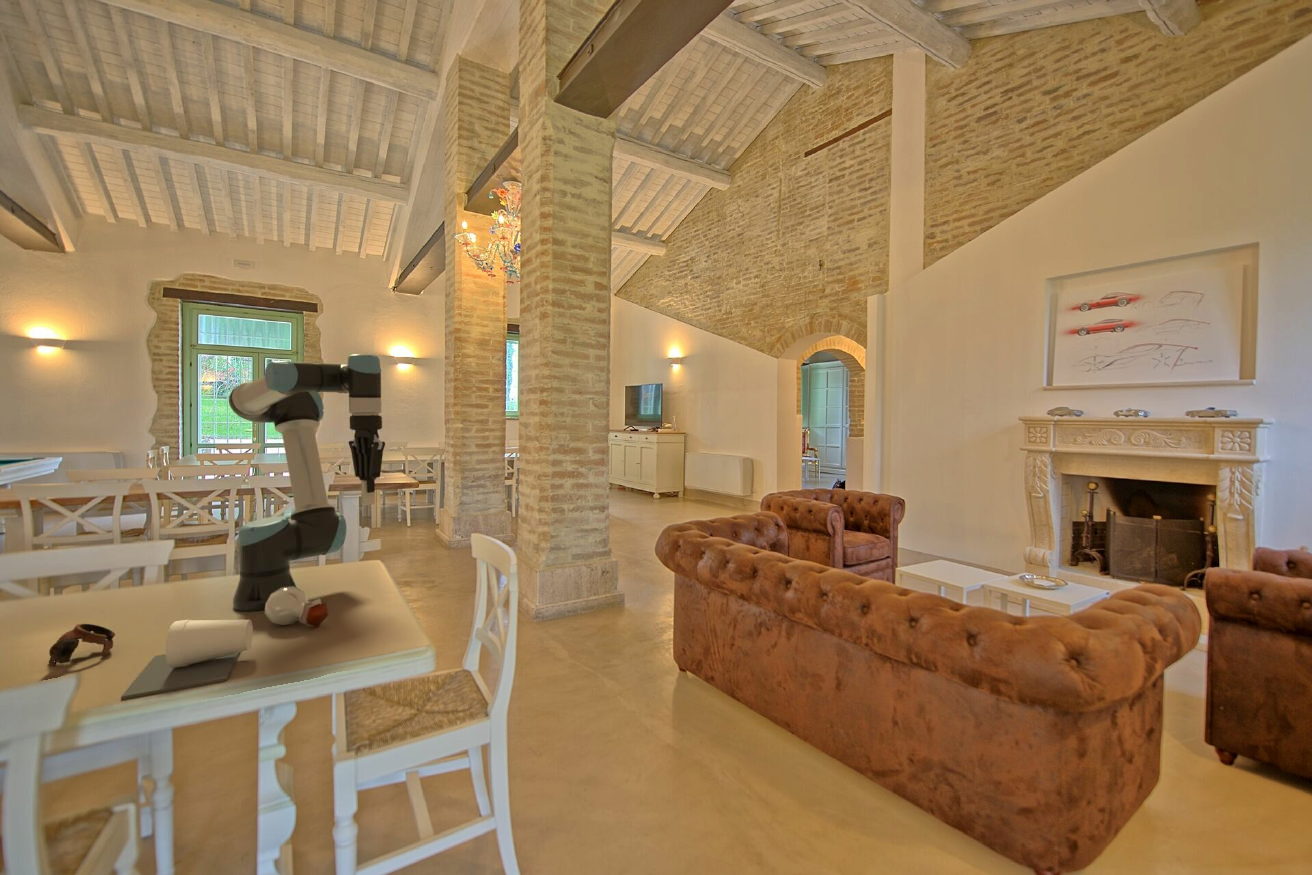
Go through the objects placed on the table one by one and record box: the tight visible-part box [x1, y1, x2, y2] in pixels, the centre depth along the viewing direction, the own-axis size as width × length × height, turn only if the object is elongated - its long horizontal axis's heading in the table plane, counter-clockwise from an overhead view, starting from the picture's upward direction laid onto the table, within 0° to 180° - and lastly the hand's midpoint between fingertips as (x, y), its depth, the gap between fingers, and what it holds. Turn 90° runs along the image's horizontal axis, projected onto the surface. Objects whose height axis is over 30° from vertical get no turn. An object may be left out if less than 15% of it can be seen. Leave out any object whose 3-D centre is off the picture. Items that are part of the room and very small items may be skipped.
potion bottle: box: [264, 586, 329, 628], centre depth 144 cm, size 9×10×15 cm
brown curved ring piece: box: [48, 623, 116, 667], centre depth 124 cm, size 12×10×8 cm
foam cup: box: [165, 619, 254, 668], centre depth 122 cm, size 10×9×13 cm
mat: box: [120, 652, 241, 700], centre depth 119 cm, size 16×20×1 cm
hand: (368, 504), depth 149 cm, fingers closed
